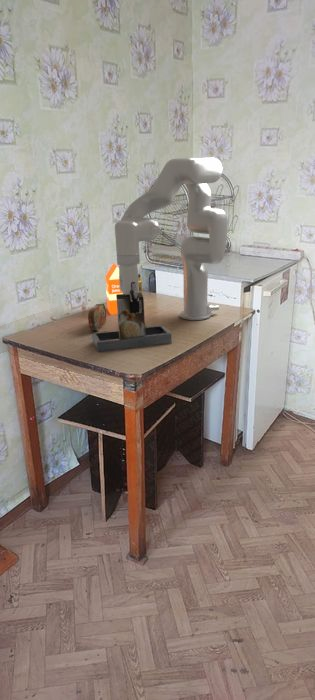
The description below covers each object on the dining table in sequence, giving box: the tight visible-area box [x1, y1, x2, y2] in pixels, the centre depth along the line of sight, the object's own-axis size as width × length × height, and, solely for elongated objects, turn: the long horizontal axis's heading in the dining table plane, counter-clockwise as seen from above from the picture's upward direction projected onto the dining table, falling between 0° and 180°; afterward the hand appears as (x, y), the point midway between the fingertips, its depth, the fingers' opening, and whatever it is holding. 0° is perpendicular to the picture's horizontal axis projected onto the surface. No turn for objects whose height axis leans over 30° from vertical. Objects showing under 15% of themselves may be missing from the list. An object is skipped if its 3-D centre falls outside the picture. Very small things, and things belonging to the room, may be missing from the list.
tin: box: [87, 303, 107, 332], centre depth 198 cm, size 15×3×8 cm, turn 168°
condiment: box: [138, 273, 147, 302], centre depth 233 cm, size 7×8×12 cm
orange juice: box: [105, 262, 123, 315], centre depth 216 cm, size 8×9×20 cm
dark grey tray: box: [91, 324, 173, 353], centre depth 181 cm, size 26×10×4 cm, turn 107°
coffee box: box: [116, 292, 146, 339], centre depth 179 cm, size 9×6×16 cm
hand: (131, 308), depth 178 cm, fingers open, 9 cm apart
